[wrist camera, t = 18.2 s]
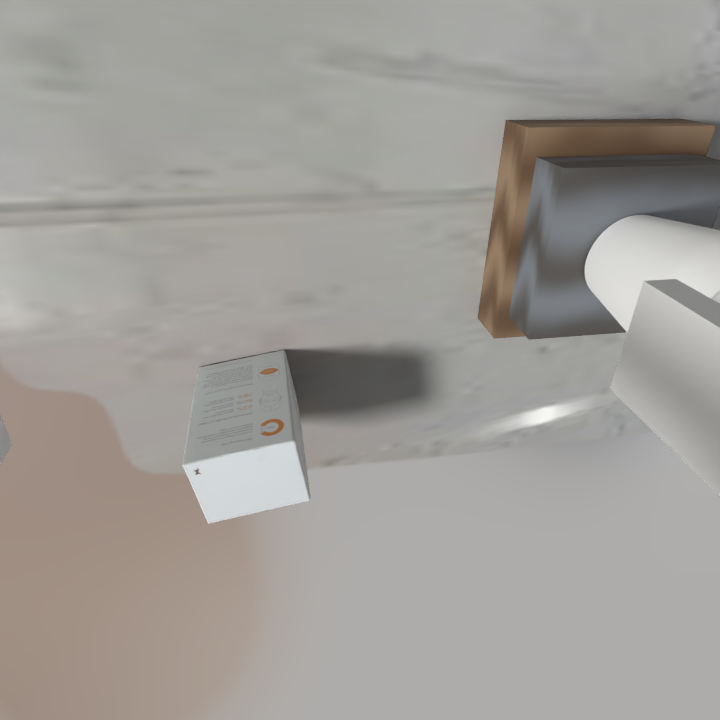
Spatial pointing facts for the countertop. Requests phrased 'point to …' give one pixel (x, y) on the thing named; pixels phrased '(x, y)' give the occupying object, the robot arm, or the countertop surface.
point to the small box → (245, 438)
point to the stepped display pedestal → (582, 212)
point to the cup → (651, 261)
